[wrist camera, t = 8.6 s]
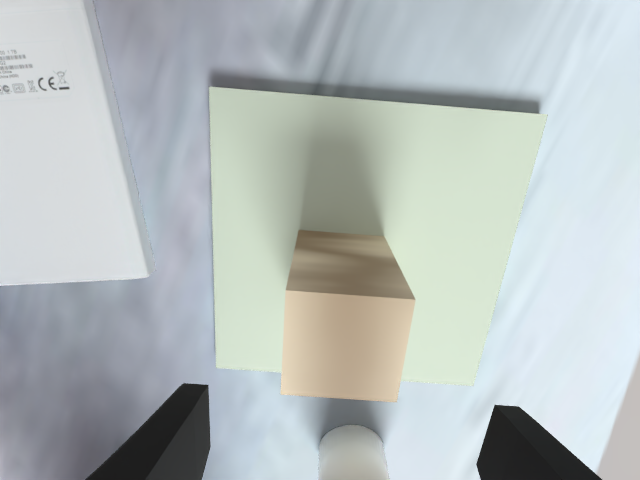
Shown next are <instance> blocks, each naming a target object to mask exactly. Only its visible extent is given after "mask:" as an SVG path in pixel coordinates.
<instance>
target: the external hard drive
mask: <svg viewBox="0 0 640 480" xmlns="http://www.w3.org/2000/svg"><path fill="white" fill-rule="evenodd" d="M154 271H156V265H155V261H154V257H153V253H152V248H151V244H150V240H149V235H148V231H147V227H146V223H145V219H144V215H143V210H142V206H141V202H140V198H139V193H138V189H137V185H136V181H135V176H134V172H133V168H132V164H131V160H130V155H129V151H128V147H127V142H126V138H125V134H124V130H123V126H122V121H121V117H120V113H119V108H118V104H117V100H116V96H115V91H114V87H113V83H112V79H111V74H110V70H109V66H108V62H107V57H106V53H105V49H104V45H103V40H102V36H101V32H100V28H99V24H98V20H97V15H96V11H95V6H94V2H93V0H0V286H6V285H28V284H46V283H65V282H87V281H106V280H129V279H140V278H147V277H148V276H150V275H151V274H152V273H153V272H154Z"/></svg>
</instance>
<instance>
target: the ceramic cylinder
mask: <svg viewBox="0 0 640 480" xmlns="http://www.w3.org/2000/svg"><path fill="white" fill-rule="evenodd" d="M318 480H390V478H389V473H388V467H387V462H386V457H385V451H384V446H383V442H382V440H381V438H380V437H379V436H378V435H377V434H376V433H375V432H374V431H373V430H371V429H369V428H367V427H364V426H359V425H344V426H340V427H337V428H334V429H332V430H331V431H329V432H328V433H327V434H326V435H325V436H324V437H323V438H322V440H321V442H320V444H319V474H318Z"/></svg>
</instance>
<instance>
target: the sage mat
mask: <svg viewBox="0 0 640 480" xmlns="http://www.w3.org/2000/svg"><path fill="white" fill-rule="evenodd" d="M209 108H210V147H211V187H212V226H213V266H214V305H215V345H216V368H224V369H239V370H253V371H267V372H281V373H282V354H283V333H284V311H285V290H286V286H287V281H288V277H289V272H290V267H291V263H292V258H293V254H294V249H295V245H296V240H297V235H298V231H299V230H307V231H321V232H334V233H348V234H361V235H375V236H385V238H386V240H387V243H388V245H389V247H390V249H391V251H392V253H393V255H394V257H395V259H396V261H397V263H398V265H399V267H400V269H401V271H402V273H403V275H404V277H405V279H406V281H407V283H408V285H409V287H410V289H411V291H412V293H413V295H414V297H415V299H416V301H415V306H414V311H413V317H412V322H411V327H410V333H409V338H408V344H407V349H406V354H405V360H404V365H403V370H402V376H401V381H409V382H423V383H437V384H452V385H466V386H473V385H474V381H475V378H476V374H477V370H478V367H479V363H480V359H481V356H482V352H483V349H484V345H485V341H486V338H487V334H488V330H489V327H490V323H491V320H492V316H493V312H494V309H495V305H496V301H497V298H498V294H499V291H500V287H501V283H502V280H503V276H504V272H505V269H506V265H507V262H508V258H509V254H510V251H511V247H512V243H513V240H514V236H515V232H516V229H517V225H518V222H519V218H520V214H521V211H522V207H523V203H524V200H525V196H526V193H527V189H528V185H529V182H530V178H531V174H532V171H533V167H534V164H535V160H536V156H537V153H538V149H539V145H540V142H541V138H542V134H543V131H544V127H545V124H546V120H547V116H548V115H547V114H534V113H522V112H510V111H498V110H486V109H474V108H462V107H450V106H438V105H426V104H414V103H401V102H389V101H377V100H365V99H353V98H341V97H329V96H317V95H305V94H293V93H281V92H268V91H256V90H244V89H232V88H220V87H209Z"/></svg>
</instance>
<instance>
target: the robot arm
mask: <svg viewBox="0 0 640 480" xmlns="http://www.w3.org/2000/svg"><path fill="white" fill-rule="evenodd" d="M209 450H210V422H209V393H208V385H200V384H186V383H184V384H182V385H181V386H180V387H179V388H178V389H177V390H176V391H175V392H174V393H173V394H172V395H171V396H170V397H169V398H168V399H167V400H166V401H165V402H164V403H163V405H162V406H161V407H160V408H159V409H158V410H157V411H156V412H155V413H154V414H153V415H152V416H151V417H150V418H149V419H148V420H147V421H146V422H145V423H144V424H143V425H142V426H141V427H140V428H139V429H138V430H137V431H136V432H135V433H134V434H133V435H132V436H131V437H130V438H129V439H128V440H127V441H126V442H125V443H124V444H123V445H122V446H121V447H120V448H119V449H118V450H117V451H116V452H115V453H114V454H113V455H112V456H110V457H109V458H108V459H107V460H106V461H105V462H104V463H103V464H102V465H101V466H100V467H99V468H98V469H97V470H95V471H94V472H93V473H92V474H91V475H90V476H89V477H88V478H87V479H86V480H202V476H203V473H204V469H205V465H206V461H207V458H208V454H209ZM476 465H477V468H478V472H479V475H480V478H481V480H602V479H601V478H600V477H598V476H597V475H596V474H595V473H594V472H593V471H592V470H590V469H589V468H588V467H587V466H586V465H585V464H584V463H583V462H581V461H580V460H579V459H578V458H577V457H576V456H575V455H574V454H572V453H571V452H570V451H569V450H568V449H567V448H566V447H565V446H563V445H562V444H561V443H560V442H559V441H558V440H557V439H556V438H554V437H553V436H552V435H551V434H550V433H549V432H548V431H547V430H545V429H544V428H543V427H542V426H541V425H540V424H539V423H537V422H536V421H535V420H534V419H533V418H532V417H531V416H529V415H528V414H527V413H526V412H525V411H523V410H522V409H521V408H520V407H517V406H502V405H495V406H494V409H493V412H492V416H491V419H490V422H489V425H488V429H487V432H486V435H485V438H484V442H483V445H482V448H481V451H480V455H479V458H478V461H477V464H476Z"/></svg>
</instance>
